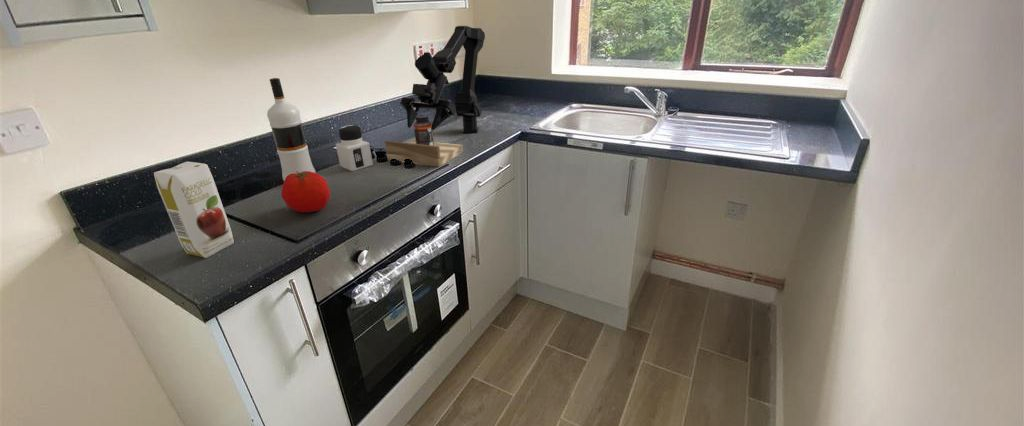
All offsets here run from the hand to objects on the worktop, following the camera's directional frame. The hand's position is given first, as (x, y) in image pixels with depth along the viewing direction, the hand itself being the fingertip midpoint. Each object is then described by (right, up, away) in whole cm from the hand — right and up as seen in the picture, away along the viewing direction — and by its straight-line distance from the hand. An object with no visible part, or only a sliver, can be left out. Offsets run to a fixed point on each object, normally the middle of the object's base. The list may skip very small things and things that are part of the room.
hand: (420, 128), depth 146 cm
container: (-21, -13, -1) cm, 24 cm away
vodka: (-34, -18, -11) cm, 40 cm away
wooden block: (+1, -8, +6) cm, 10 cm away
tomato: (-22, -27, -31) cm, 47 cm away
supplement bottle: (+1, -6, +5) cm, 8 cm away
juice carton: (-36, -36, -48) cm, 70 cm away
